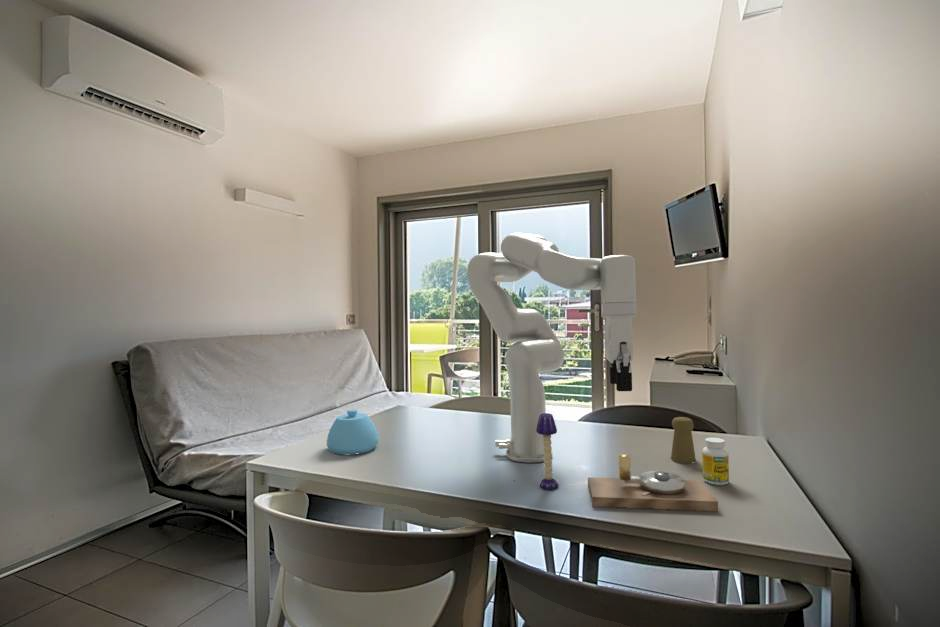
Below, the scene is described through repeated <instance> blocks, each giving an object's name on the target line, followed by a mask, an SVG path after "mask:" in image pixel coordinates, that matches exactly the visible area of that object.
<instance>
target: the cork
mask: <svg viewBox="0 0 940 627" xmlns="http://www.w3.org/2000/svg"><path fill="white" fill-rule="evenodd" d="M694 424H695V423H694V422H693V419H691V418H689V417H685V416H676V417H674V418H673V419H672V421H671V426H672V429H673V439H672V446H671V454H670V460H671V459H672V460H671V461H673V460H674V461H673V462H675V461H677V462H676V463H678V462H680V463H679V464H686V463H690V464H693V463H692V462H695V461H696V462H697V459H696V453H695V446H694V440H693V432H692V431H693V430H694V426H695V425H694ZM696 462H695V463H696Z"/></svg>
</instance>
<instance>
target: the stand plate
mask: <svg viewBox="0 0 940 627" xmlns="http://www.w3.org/2000/svg"><path fill="white" fill-rule="evenodd" d="M684 480H685V490H684V491H683V492H681V493H678V494H660V493H654V492H651V491H648V490H645V489H644V488H642V487H641V486H640V484H633V483H625V482H624V480H621V479H619V477H617V478H616V477H589V476H588V477H587V486H588V487H587V488H588V492H589V496H590V500H591V501H590V502H591V503H592V508H595V507H596V508H616V507H626V508H625V509H642V508H652V509H651V510H667V509H671V510H673V509H674V510H673V511H693V510H696V512H697V511H699V512H703V511H702V510H710V511H709V512H719V501H718V500H717V499H716V497H715V496H714V495H713V494H712V492H710V490H709V489H708V488H707V486H705V484H704V483H702V481H701V480H691V479H690V480H687V479H684ZM653 508H654V509H653ZM700 510H701V511H700ZM693 512H694V511H693Z"/></svg>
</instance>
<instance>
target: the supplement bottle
mask: <svg viewBox="0 0 940 627" xmlns="http://www.w3.org/2000/svg"><path fill="white" fill-rule="evenodd" d="M704 442H705V443H704V445H705V446H704V447H703V448H702V456H701V457H702V480H703V481H704V482H705V481H706V483H707V482H708V484H710V483H711V484H710V485H713V484H716V485H715V486H725V484H726V485H728V483H729V482H730V479H729V478H730V476H729V475H730V472H729V471H730V470H729V469H730V467H729V464H730V462H729V461H730V460H729V459H730V458H729V452H728V450H727V449H726V448H725V447H726V441H725V440H724V439H723V438H719V437H706V438H705V440H704Z"/></svg>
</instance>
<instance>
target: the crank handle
mask: <svg viewBox="0 0 940 627" xmlns="http://www.w3.org/2000/svg"><path fill="white" fill-rule="evenodd" d="M631 457H632V455H630V454H628V453H620V454H618V469H619V470H618V473H619V477H618V478H619V479H621V480H624V482H625V483H633V484H640V486H641V487H642V488H644V489H645V490H648V491H651V492H654V493H660V494H678V493H681V492H683V491H684V490H685V480H686V479H685V478H684V477H683V476H681V475H678V474H676V473H673V472H669V471H663V470H651V471H650V470H649V471H645V472H644V471H643V472H642V473H640V474H639V475H636V476H635V475H632V461H631V460H632V458H631Z"/></svg>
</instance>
